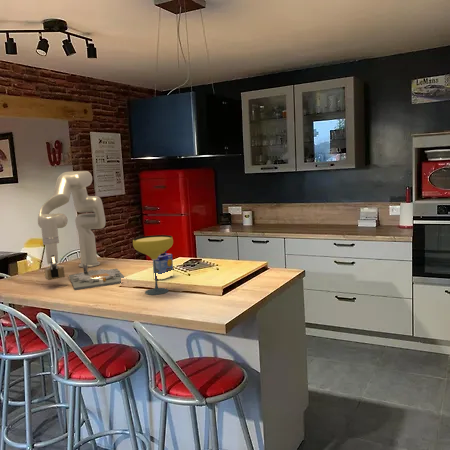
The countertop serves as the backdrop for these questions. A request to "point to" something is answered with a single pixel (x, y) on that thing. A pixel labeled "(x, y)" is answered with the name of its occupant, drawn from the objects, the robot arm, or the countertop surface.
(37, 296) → the countertop surface
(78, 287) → the sprocket base
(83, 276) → the sprocket
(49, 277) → the brown rectangular block
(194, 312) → the countertop surface
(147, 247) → the cocktail glass
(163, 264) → the ink cartridge box
